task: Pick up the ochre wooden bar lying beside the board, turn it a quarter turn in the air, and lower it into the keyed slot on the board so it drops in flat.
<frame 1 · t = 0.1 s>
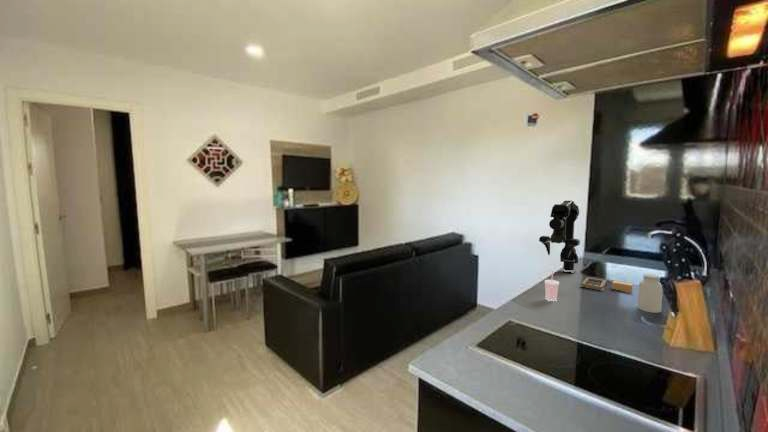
hand: (558, 256, 178), 15 cm above the worktop, tool pointing down, fingers open, 9 cm apart
ochre bar: (621, 290, 166), on the worktop
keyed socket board: (593, 285, 173), on the worktop
beverage cup: (550, 300, 152), on the worktop
pill bottle: (648, 310, 141), on the worktop
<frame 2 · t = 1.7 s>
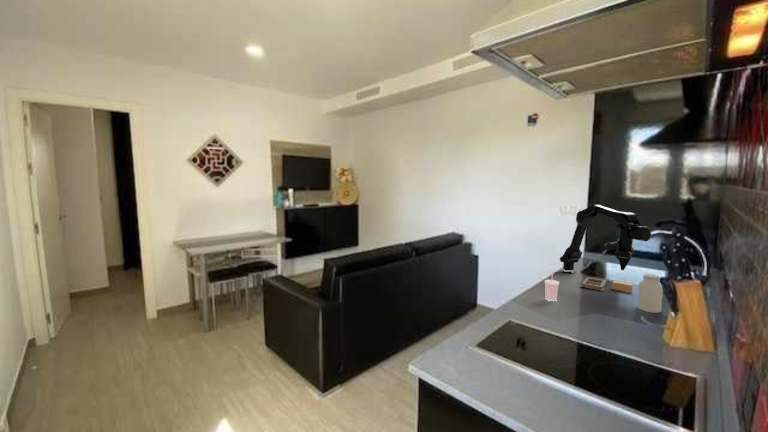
hand: (623, 268, 165), 11 cm above the worktop, tool pointing down, fingers open, 9 cm apart
nothing on the worktop moved.
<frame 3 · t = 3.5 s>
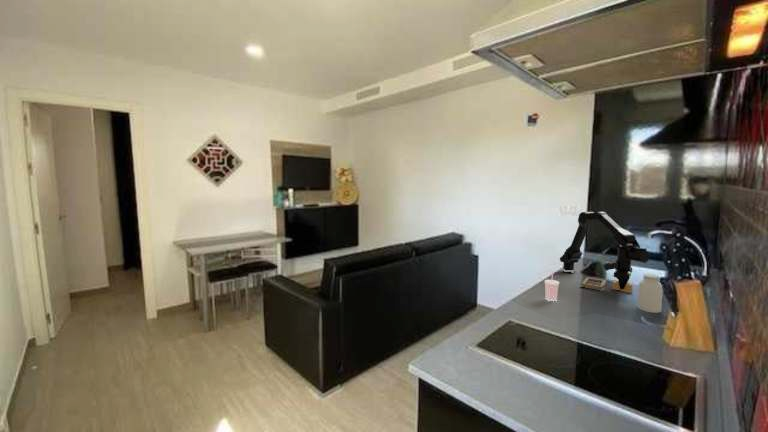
hand: (622, 288, 166), 1 cm above the worktop, tool pointing down, fingers closed on ochre bar, 4 cm apart
ochre bar: (622, 290, 166), on the worktop, touching gripper
everything else where it was.
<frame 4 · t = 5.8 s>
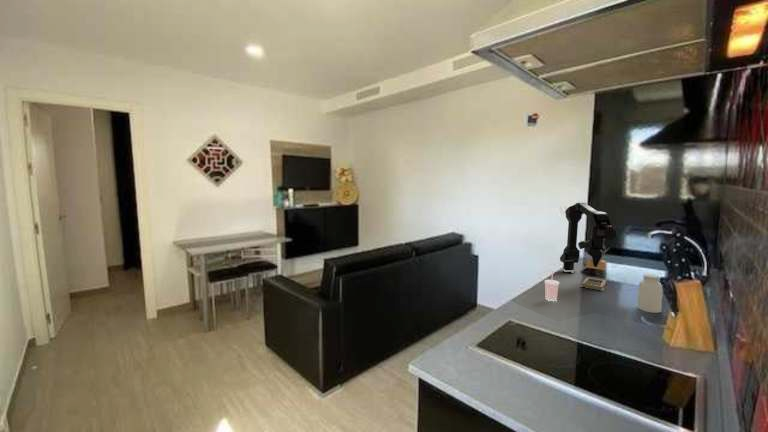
hand: (595, 265, 172), 11 cm above the worktop, tool pointing down, fingers closed on ochre bar, 4 cm apart
ochre bar: (595, 267, 172), point 10 cm above the worktop, touching gripper
everything else where it was.
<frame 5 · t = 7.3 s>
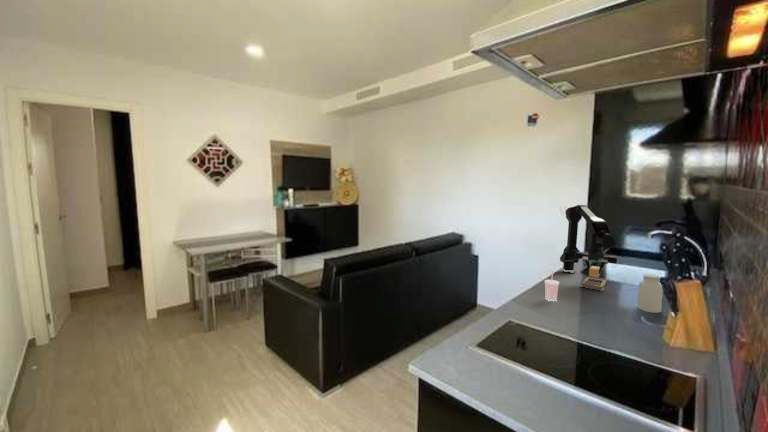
hand: (594, 273, 173), 7 cm above the worktop, tool pointing down, fingers closed on ochre bar, 4 cm apart
ochre bar: (594, 275, 173), point 6 cm above the worktop, touching gripper
everything else where it was.
when the fingers open (3 cm above the worktop, at t = 8.2 s): ochre bar drops 2 cm, resting on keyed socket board.
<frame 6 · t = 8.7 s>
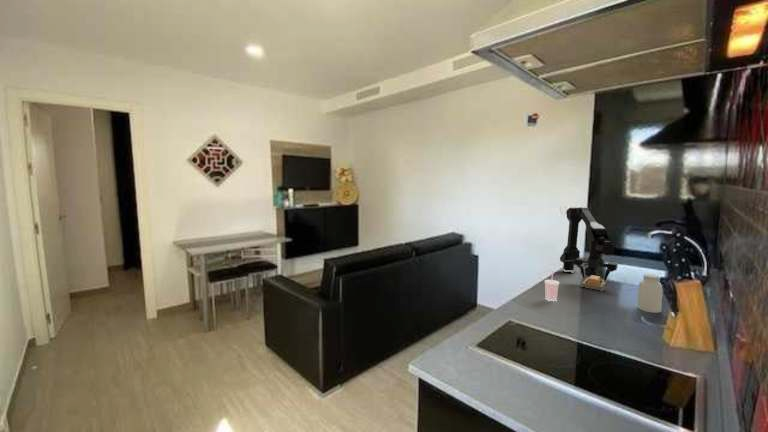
hand: (594, 280, 173), 3 cm above the worktop, tool pointing down, fingers open, 9 cm apart
ochre bar: (593, 284, 173), point 1 cm above the worktop, touching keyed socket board
everything else where it was.
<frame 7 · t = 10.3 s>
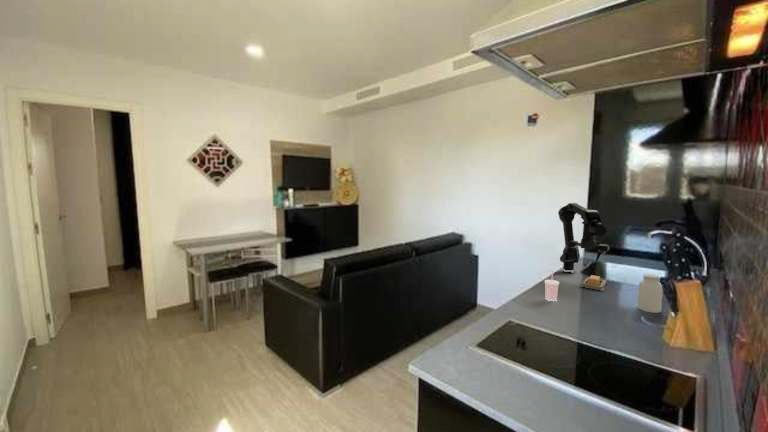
hand: (586, 260, 181), 11 cm above the worktop, tool pointing down, fingers open, 9 cm apart
nothing on the worktop moved.
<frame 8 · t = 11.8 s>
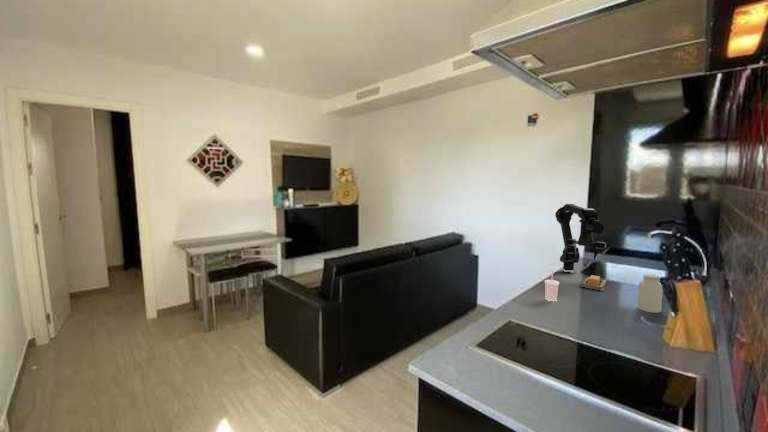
hand: (584, 258, 184), 12 cm above the worktop, tool pointing down, fingers open, 9 cm apart
nothing on the worktop moved.
at the end: ochre bar 0.1 cm off-centre on the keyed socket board, point 0.6 cm above the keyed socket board's base; ochre bar tilted 0°; the gripper is holding nothing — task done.
